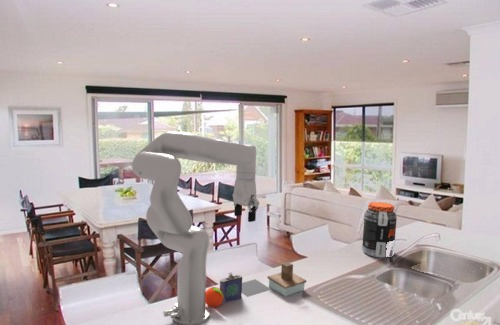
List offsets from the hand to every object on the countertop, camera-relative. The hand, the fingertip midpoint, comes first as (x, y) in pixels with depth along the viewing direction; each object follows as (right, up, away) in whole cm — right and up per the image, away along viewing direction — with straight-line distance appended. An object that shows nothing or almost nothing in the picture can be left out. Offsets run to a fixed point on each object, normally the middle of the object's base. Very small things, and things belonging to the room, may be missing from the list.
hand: (244, 218), depth 150 cm
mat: (+3, -29, +1) cm, 29 cm away
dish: (+17, -29, +1) cm, 33 cm away
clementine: (-11, -30, -14) cm, 35 cm away
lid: (+17, -25, +1) cm, 30 cm away
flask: (-5, -30, -9) cm, 32 cm away
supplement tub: (+69, -25, +46) cm, 86 cm away
